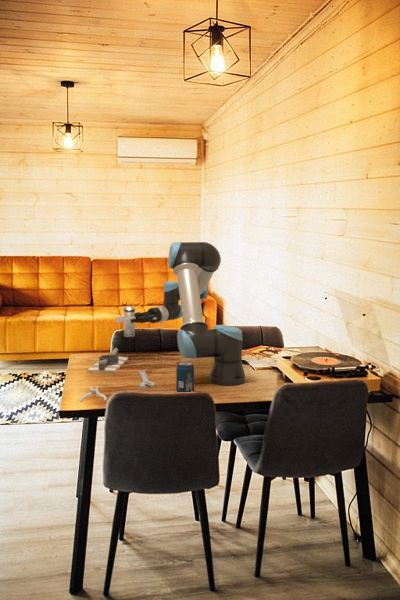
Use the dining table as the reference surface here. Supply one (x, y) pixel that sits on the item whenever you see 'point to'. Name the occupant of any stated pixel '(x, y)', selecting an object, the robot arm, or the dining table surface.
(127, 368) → the dining table surface
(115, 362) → the coupling base
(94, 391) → the pliers
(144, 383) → the adjustable wrench
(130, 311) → the coupler
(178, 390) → the soda can
